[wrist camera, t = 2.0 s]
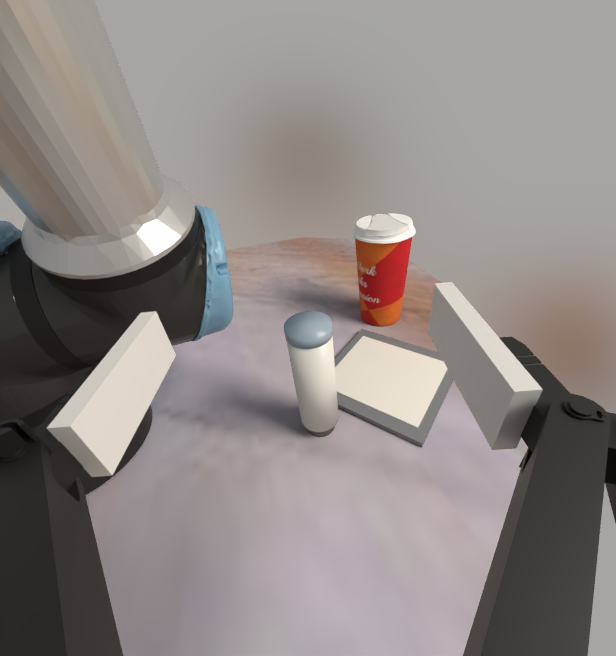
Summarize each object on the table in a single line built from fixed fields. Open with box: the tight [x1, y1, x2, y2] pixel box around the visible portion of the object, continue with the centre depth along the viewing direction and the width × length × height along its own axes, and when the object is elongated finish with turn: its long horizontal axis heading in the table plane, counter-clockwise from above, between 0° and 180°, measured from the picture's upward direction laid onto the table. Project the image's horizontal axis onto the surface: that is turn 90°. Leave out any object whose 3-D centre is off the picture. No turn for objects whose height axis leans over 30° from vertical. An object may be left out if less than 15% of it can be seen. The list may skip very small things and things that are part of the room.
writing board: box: [334, 329, 453, 447], centre depth 39 cm, size 14×14×1 cm
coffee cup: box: [353, 213, 415, 326], centre depth 45 cm, size 8×8×15 cm
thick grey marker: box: [284, 311, 339, 437], centre depth 30 cm, size 4×4×14 cm
